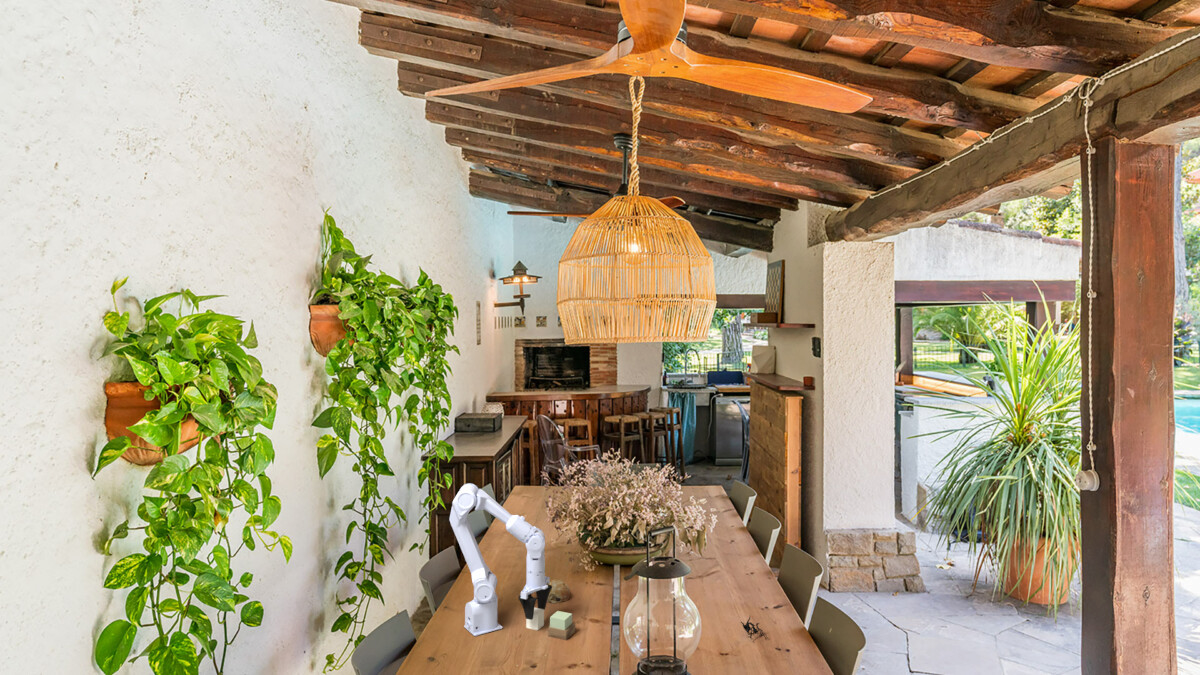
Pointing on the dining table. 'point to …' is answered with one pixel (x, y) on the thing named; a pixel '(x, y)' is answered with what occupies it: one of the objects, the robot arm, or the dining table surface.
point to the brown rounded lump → (558, 591)
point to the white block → (536, 619)
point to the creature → (751, 628)
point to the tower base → (561, 632)
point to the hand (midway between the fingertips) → (535, 613)
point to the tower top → (561, 620)
